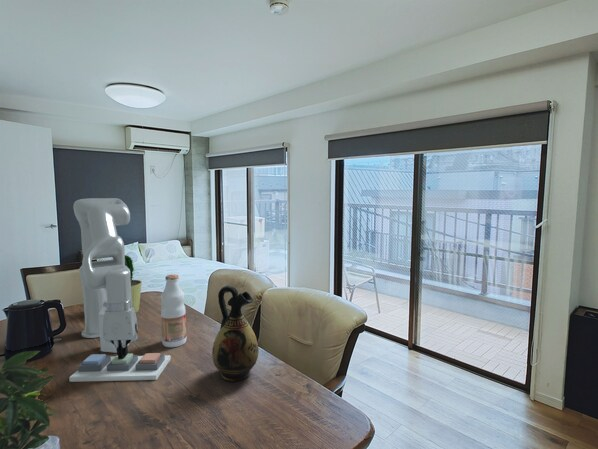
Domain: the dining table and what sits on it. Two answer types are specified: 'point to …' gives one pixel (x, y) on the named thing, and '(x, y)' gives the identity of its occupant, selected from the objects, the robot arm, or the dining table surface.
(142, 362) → the terracotta button
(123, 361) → the sage-green button
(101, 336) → the milk carton
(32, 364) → the dining table surface
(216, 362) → the ceramic jug
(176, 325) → the fruit juice
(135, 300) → the potted cactus
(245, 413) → the dining table surface
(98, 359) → the slate-blue button
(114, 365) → the button panel
